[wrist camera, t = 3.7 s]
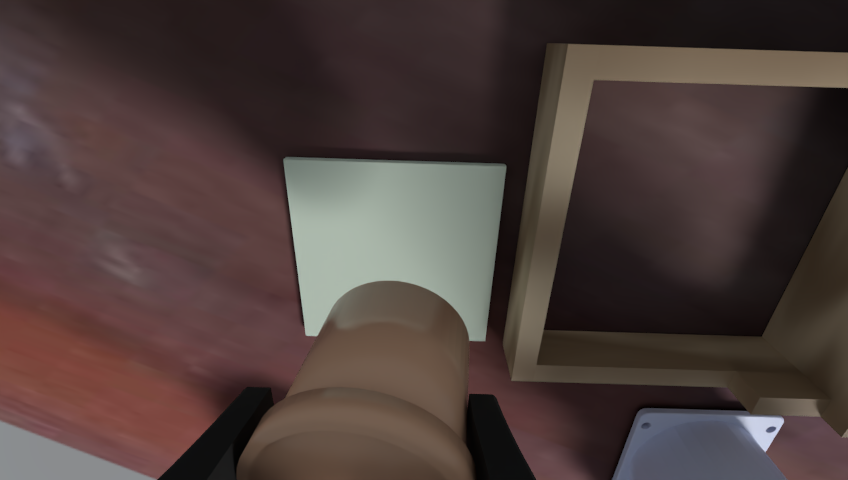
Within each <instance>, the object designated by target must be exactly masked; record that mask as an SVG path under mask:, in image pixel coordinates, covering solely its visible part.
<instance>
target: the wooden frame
mask: <svg viewBox="0 0 848 480" xmlns="http://www.w3.org/2000/svg"><path fill="white" fill-rule="evenodd" d="M594 80H611V81H643V82H675V83H706V84H738V85H770V86H801V87H833V88H848V53H847V52H815V51H784V50H752V49H721V48H689V47H657V46H626V45H594V44H563V43H547V47H546V54H545V61H544V67H543V74H542V81H541V88H540V94H539V101H538V108H537V115H536V121H535V128H534V135H533V142H532V149H531V155H530V162H529V169H528V176H527V182H526V189H525V196H524V203H523V210H522V216H521V223H520V230H519V237H518V243H517V250H516V257H515V264H514V270H513V277H512V284H511V291H510V298H509V304H508V311H507V318H506V325H505V331H504V338H503V348H504V352H505V356H506V361H507V365H508V369H509V373H510V377H511V381H532V382H565V383H598V384H630V385H663V386H696V387H728V388H729V390H730V391H731V392H732V393H733V394H734V395H735V397H736V398H737V399H738V400H739V401H740V402H741V404H742V405H743V406H744V407H745V408H746V410H747V411H748V412H749V413H750V414H751V415H784V416H817V417H821V418H823V419H824V420H825V421H826V422H827V423H828V424H829V425H830V426H831V427H832V428H833V429H834V430H835V431H836V432H837V433H838V434H839V435H840V436H841V437H848V168H847V170H846V172H845V174H844V176H843V178H842V180H841V182H840V184H839V186H838V188H837V190H836V191H835V193H834V195H833V197H832V199H831V201H830V203H829V205H828V207H827V209H826V211H825V213H824V215H823V217H822V219H821V221H820V223H819V225H818V227H817V229H816V231H815V233H814V235H813V237H812V239H811V241H810V243H809V245H808V247H807V248H806V250H805V252H804V254H803V256H802V258H801V260H800V262H799V264H798V266H797V268H796V270H795V272H794V274H793V276H792V278H791V280H790V282H789V284H788V286H787V288H786V290H785V292H784V294H783V296H782V298H781V300H780V302H779V303H778V305H777V307H776V309H775V311H774V313H773V315H772V317H771V319H770V321H769V323H768V325H767V327H766V329H765V331H764V333H763V335H762V337H757V336H724V335H692V334H659V333H626V332H594V331H561V330H543V329H544V324H545V319H546V314H547V309H548V304H549V300H550V295H551V290H552V285H553V280H554V275H555V270H556V265H557V260H558V255H559V250H560V245H561V240H562V235H563V230H564V225H565V220H566V215H567V210H568V205H569V200H570V195H571V190H572V185H573V180H574V175H575V170H576V165H577V160H578V155H579V150H580V146H581V141H582V136H583V131H584V126H585V121H586V116H587V111H588V106H589V101H590V96H591V91H592V86H593V81H594Z"/></svg>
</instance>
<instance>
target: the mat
mask: <svg viewBox="0 0 848 480" xmlns="http://www.w3.org/2000/svg"><path fill="white" fill-rule="evenodd" d="M283 162H284V170H285V178H286V186H287V193H288V201H289V209H290V217H291V224H292V232H293V240H294V248H295V255H296V263H297V271H298V278H299V286H300V294H301V302H302V309H303V317H304V325H305V333H306V336H318V334H319V332H320V330H321V328H322V326H323V324H324V322H325V320H326V318H327V316H328V315H329V313H330V311H331V309H332V307H333V305H334V304H335V303H336V302H337V300H338V299H339V298H340V297H342V296H343V295H344V294H345V293H347V292H348V291H350V290H351V289H353V288H355V287H358V286H360V285H363V284H366V283H370V282H376V281H401V282H407V283H411V284H415V285H418V286H421V287H423V288H426V289H428V290H430V291H432V292H434V293H436V294H437V295H439V296H440V297H442V298H443V299H445V300H446V301H447V302H448V303H449V304H450V305H451V306H452V307H453V308H454V309H455V310H456V311H457V312H458V314H459V315H460V317H461V318H462V320H463V321H464V324H465V326H466V328H467V331H468V335H469V341H485V338H486V330H487V322H488V314H489V306H490V297H491V289H492V281H493V273H494V265H495V257H496V248H497V240H498V232H499V224H500V216H501V208H502V199H503V191H504V183H505V175H506V167H507V166H506V165H505V164H499V163H467V162H435V161H403V160H370V159H338V158H306V157H286V158H284V159H283Z"/></svg>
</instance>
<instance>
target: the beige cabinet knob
mask: <svg viewBox="0 0 848 480" xmlns="http://www.w3.org/2000/svg"><path fill="white" fill-rule="evenodd" d="M469 346H470V342H469V335H468V331H467V328H466V326H465V324H464V321H463V320H462V318H461V317H460V315H459V314H458V312H457V311H456V310H455V309H454V308H453V307H452V306H451V305H450V304H449V303H448V302H447V301H446V300H445V299H443V298H442V297H440V296H439V295H437V294H436V293H434V292H432V291H430V290H428V289H426V288H423V287H421V286H418V285H415V284H411V283H407V282H401V281H376V282H370V283H366V284H363V285H360V286H358V287H355V288H353V289H351V290H350V291H348V292H347V293H345V294H344V295H343V296H342V297H340V298H339V299H338V300H337V302H336V303H335V304H334V305H333V307H332V309H331V311H330V313H329V315H328V316H327V318H326V320H325V322H324V324H323V326H322V328H321V330H320V332H319V334H318V336H317V338H316V339H315V341H314V343H313V345H312V347H311V349H310V351H309V353H308V355H307V357H306V359H305V361H304V362H303V364H302V366H301V368H300V370H299V372H298V374H297V376H296V378H295V380H294V382H293V384H292V385H291V387H290V389H289V391H288V393H287V395H286V397H285V399H283V400H281V401H279V402H277V403H276V404H275V405H274V406H272V407H271V408H270V409H269V410H268V411H267V412H266V413H265V414H264V416H263V417H262V419H261V420H260V422H259V424H258V426H257V428H256V429H255V431H254V433H253V435H252V437H251V438H250V440H249V442H248V444H247V446H246V447H245V449H244V451H243V453H242V455H241V456H240V458H239V461H238V465H237V472H236V478H237V480H477V473H476V466H475V463H474V460H473V457H472V455H471V453H470V451H469V450H468V448H467V446H466V438H467V407H468V376H469Z"/></svg>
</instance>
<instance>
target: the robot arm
mask: <svg viewBox="0 0 848 480" xmlns="http://www.w3.org/2000/svg"><path fill="white" fill-rule="evenodd" d="M272 406H274V403H273V398H272V393H271V388H261V387H247V388H246V389H245V390H243V391H242V393H241V394H240V395H239V396H238V397H237V398H236V399H235V400H234V401H233V402H232V403H231V404H230V406H229V407H228V408H227V409H226V410H225V411H224V412H223V413H222V414H221V415H220V416H219V417H218V418H217V420H216V421H215V422H214V423H213V424H212V425H211V426H210V427H209V428H208V429H207V430H206V431H205V432H204V433H203V434H202V435H201V437H200V438H199V439H198V440H197V441H196V442H195V443H194V444H193V445H192V446H191V447H190V448H189V449H188V450H187V451H186V452H185V453H184V454H183V455H182V456H181V457H180V458H179V459H178V460H177V461H176V462H175V463H174V464H173V465H172V466H171V467H170V468H169V469H168V470H167V471H166V472H165V473H164V474H163V475H162V476H161V477H160V478H159V479H158V480H237V478H236V472H237V465H238V461H239V458H240V456H241V455H242V453H243V451H244V449H245V447H246V446H247V444H248V442H249V440H250V438H251V437H252V435H253V433H254V431H255V429H256V428H257V426H258V424H259V422H260V420H261V419H262V417H263V416H264V414H265V413H266V412H267V411H268V410H269V409H270V408H271V407H272ZM783 422H784V419H783V418H782V417H781V415H751V414H750V413H749V412H748V411H732V410H699V409H666V408H643V409H641V410H639V411H638V413H637V414H636V417H635V420H634V422H633V425H632V428H631V430H630V433H629V436H628V438H627V441H626V444H625V446H624V449H623V452H622V454H621V457H620V460H619V462H618V465H617V468H616V470H615V473H614V476H613V478H612V480H787V479H786V477H785V476H784V475H783V474H782V472H781V471H780V470H779V469H778V468H777V466H776V465H775V464H774V463H773V461H772V460H771V459H770V458H769V456H768V455H767V454H766V453H765V452H766V450H767V449H768V447H769V446H770V444H771V442H772V441H773V439H774V437H775V436H776V434H777V433H778V431H779V429H780V428H781V426H782V424H783ZM466 446H467V448H468V450H469V451H470V453H471V455H472V457H473V460H474V463H475V466H476V473H477V480H536V478H535V477H534V475H533V473H532V471H531V469H530V468H529V466H528V464H527V462H526V460H525V458H524V457H523V455H522V453H521V451H520V449H519V447H518V445H517V443H516V441H515V439H514V437H513V435H512V433H511V431H510V429H509V427H508V425H507V423H506V420H505V418H504V416H503V414H502V411H501V409H500V406H499V404H498V401H497V399H496V397H495V396H494V395H489V394H469V401H468V410H467V438H466Z"/></svg>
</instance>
